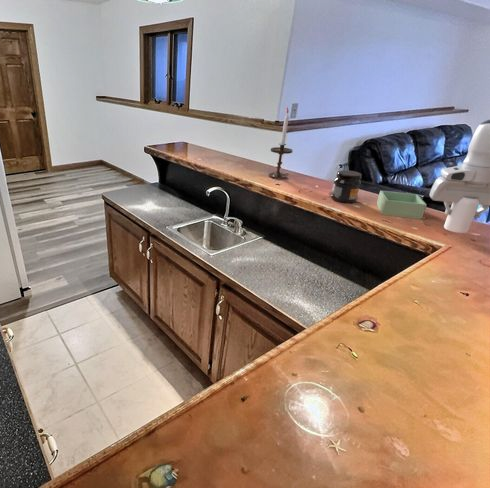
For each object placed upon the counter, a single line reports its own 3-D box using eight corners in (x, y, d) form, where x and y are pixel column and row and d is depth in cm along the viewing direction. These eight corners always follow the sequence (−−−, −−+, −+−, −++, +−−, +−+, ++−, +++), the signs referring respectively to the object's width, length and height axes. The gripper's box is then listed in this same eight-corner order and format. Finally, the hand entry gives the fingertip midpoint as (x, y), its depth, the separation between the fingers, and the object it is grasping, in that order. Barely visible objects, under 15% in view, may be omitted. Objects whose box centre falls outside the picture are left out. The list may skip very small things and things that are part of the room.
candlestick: (263, 174, 191) (272, 106, 175) (280, 173, 193) (291, 105, 178) (273, 180, 181) (284, 108, 166) (291, 178, 184) (304, 107, 168)
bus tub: (412, 207, 146) (417, 194, 144) (421, 219, 135) (426, 204, 132) (376, 203, 150) (380, 190, 148) (381, 214, 139) (386, 200, 136)
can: (448, 233, 114) (462, 197, 108) (439, 225, 119) (452, 191, 114) (471, 234, 112) (486, 199, 107) (461, 227, 118) (475, 192, 113)
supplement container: (361, 201, 152) (368, 174, 147) (344, 205, 148) (351, 177, 143) (341, 194, 161) (347, 169, 155) (324, 197, 157) (330, 171, 151)
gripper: (514, 174, 107) (496, 216, 113) (435, 169, 113) (422, 209, 119) (525, 179, 101) (505, 223, 107) (442, 173, 108) (427, 215, 114)
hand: (461, 215), depth 113 cm, fingers closed on can, 6 cm apart
